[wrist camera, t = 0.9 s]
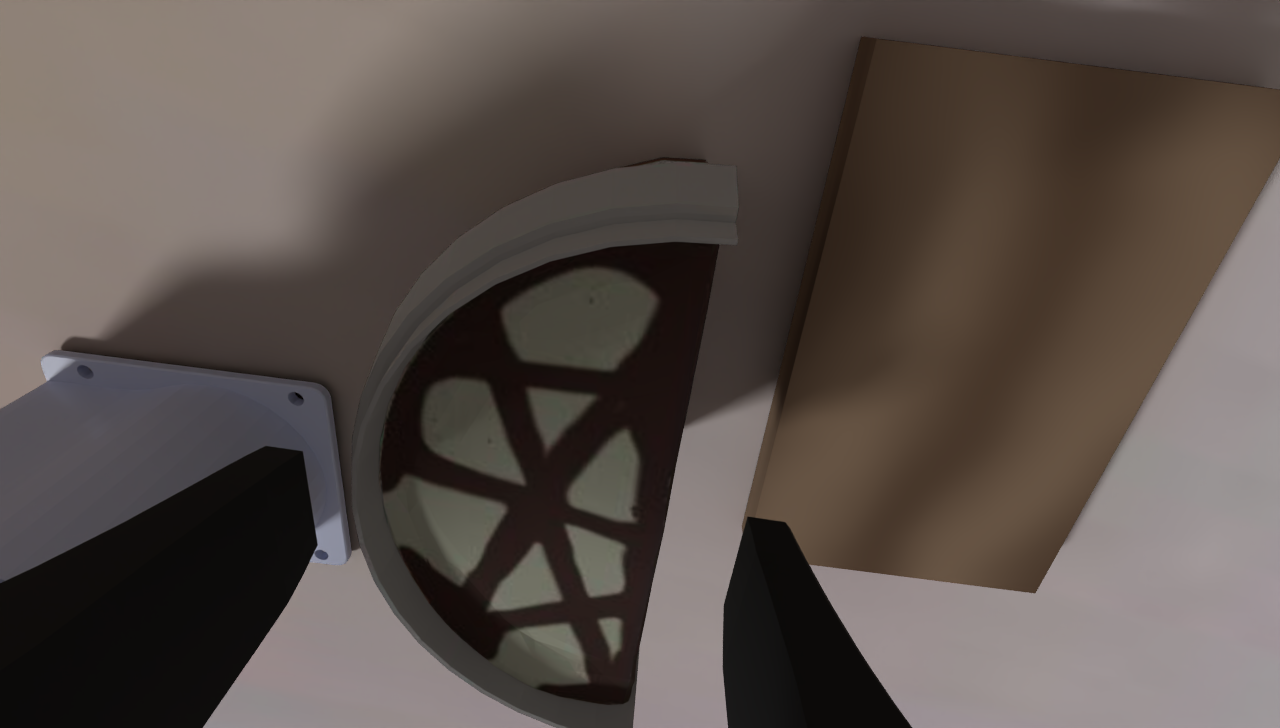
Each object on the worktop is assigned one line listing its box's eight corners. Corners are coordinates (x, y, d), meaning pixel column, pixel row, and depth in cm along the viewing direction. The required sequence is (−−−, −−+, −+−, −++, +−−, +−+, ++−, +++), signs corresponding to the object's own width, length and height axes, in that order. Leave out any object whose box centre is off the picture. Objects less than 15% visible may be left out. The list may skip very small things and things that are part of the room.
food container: (482, 66, 17) (268, 127, 8) (716, 101, 17) (747, 199, 8) (475, 449, 23) (346, 720, 14) (650, 474, 23) (628, 760, 14)
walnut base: (742, 526, 24) (745, 556, 23) (861, 36, 16) (877, 38, 15) (1016, 560, 24) (1035, 593, 23) (1264, 87, 16) (1314, 94, 15)
